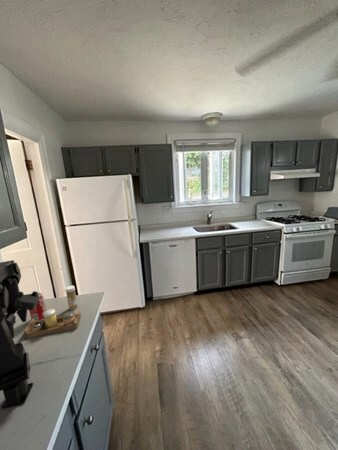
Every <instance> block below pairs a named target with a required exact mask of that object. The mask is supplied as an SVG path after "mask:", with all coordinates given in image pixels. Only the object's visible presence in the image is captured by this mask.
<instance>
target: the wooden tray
mask: <svg viewBox="0 0 338 450" xmlns="http://www.w3.org/2000/svg"><path fill="white" fill-rule="evenodd" d="M62 316H63V315H62ZM62 316H56V319H57V324H58V326H57V327H54V328H49V329H46V328H45V329H43V330H40V329H39V328H34V325H38V324H40V323H41V322H42V320H43V319H42V320H39V321H36V320H35V318H34V319H32V320H30V321H29V323H28V324H27V325H26V327H25V328H24V330H23V331H22V333H23V337H24V339H30V338H34V337H35V338H36V337H39V336H44V335H50V334H56V333H60V332H67V331H71V330H75V329H76V330H77V329H78V327H79V325H80V322H81V319H82V312H81V311H80V310H79V311H78V312H76V313H75V321H74V324H70V325H65V326H64V322H63V318H62Z"/></svg>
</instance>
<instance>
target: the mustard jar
mask: <svg viewBox="0 0 338 450" xmlns="http://www.w3.org/2000/svg"><path fill="white" fill-rule="evenodd" d="M46 310H47V311H45V312H44V313H43V316H44V321H45V326H46V329H49V328H54V327H57V326H58V324H57V319H56V317H57V312H56V309H54V308H50V309H46Z"/></svg>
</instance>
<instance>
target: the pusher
mask: <svg viewBox="0 0 338 450" xmlns="http://www.w3.org/2000/svg"><path fill="white" fill-rule="evenodd" d="M34 328H39V329H40V330H43V329H45V328H46V326H45V321H44V319H42V322H41V323H40V324H38V325H34Z"/></svg>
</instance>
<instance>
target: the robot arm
mask: <svg viewBox="0 0 338 450" xmlns="http://www.w3.org/2000/svg"><path fill="white" fill-rule="evenodd" d="M21 278H22V274H21V269H20V267H19V265H18V263H17V262H15V260H13V259H12V260H6V261H1V262H0V392H1V391H2V393H3V395H4V396H3V397H4V401H3V402H2V405H1V407H0V408H1V409H7V408H10V407H11V408H12V407H15V406H19V405H22V404H24V403H25V402H26V401H27V399H28V397H29V395H30V393H31V390H32V388H33V386H34V383H33V382H30V383H28V380H29V379H30V375H31V362H30V356H29V352H27V351H26V349H25V347H24V344H23V343H22V342H19V343H15V341H14V338H15V330H14V325H15V324H16V323H17V320H16V314H17V316H18V318H19V319H20V320H21V322H22V323H26V321H27V317H28V311H29V310H34V308H35V307H36V306H37V304H38V300H39V299H40V297H39V295H38V293H39V292H38V291H36V290H35V291H33V292H31V293H27V294H24V292H23V291H20V288H19V283H20V281H21Z"/></svg>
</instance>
